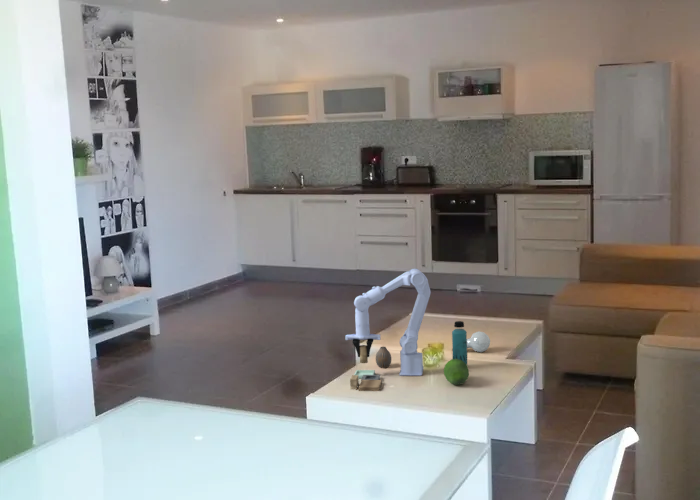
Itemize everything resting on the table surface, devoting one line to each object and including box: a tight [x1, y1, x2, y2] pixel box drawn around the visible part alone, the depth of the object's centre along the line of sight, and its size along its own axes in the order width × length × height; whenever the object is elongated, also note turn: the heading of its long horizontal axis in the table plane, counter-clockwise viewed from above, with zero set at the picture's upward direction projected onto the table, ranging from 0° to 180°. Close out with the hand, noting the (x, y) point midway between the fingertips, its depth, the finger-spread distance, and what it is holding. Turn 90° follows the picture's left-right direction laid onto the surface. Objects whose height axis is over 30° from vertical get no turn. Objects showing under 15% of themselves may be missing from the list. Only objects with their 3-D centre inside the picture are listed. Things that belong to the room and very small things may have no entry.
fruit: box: [443, 358, 470, 385], centre depth 325 cm, size 15×10×10 cm, turn 173°
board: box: [358, 379, 383, 392], centre depth 324 cm, size 8×10×2 cm
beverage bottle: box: [451, 320, 468, 366], centre depth 346 cm, size 6×7×20 cm
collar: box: [360, 374, 381, 382], centre depth 333 cm, size 7×7×2 cm
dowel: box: [359, 344, 369, 364], centre depth 338 cm, size 3×3×7 cm
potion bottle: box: [467, 331, 491, 353], centre depth 371 cm, size 9×10×15 cm
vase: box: [375, 346, 392, 369], centre depth 353 cm, size 7×7×9 cm
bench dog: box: [349, 374, 360, 390], centre depth 325 cm, size 2×6×4 cm, turn 171°
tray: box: [353, 369, 376, 380], centre depth 340 cm, size 8×8×2 cm
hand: (363, 356), depth 339 cm, fingers closed on dowel, 3 cm apart
